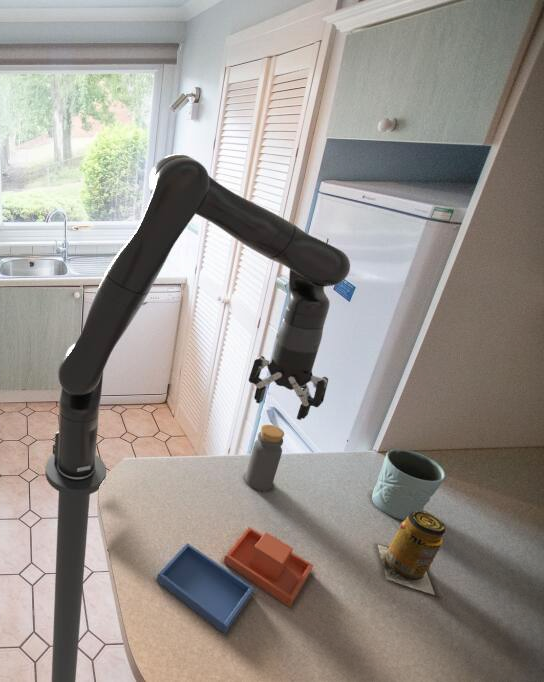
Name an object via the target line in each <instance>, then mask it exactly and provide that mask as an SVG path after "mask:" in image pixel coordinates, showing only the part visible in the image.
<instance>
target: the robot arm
mask: <svg viewBox="0 0 544 682" xmlns="http://www.w3.org/2000/svg"><path fill="white" fill-rule="evenodd" d="M148 185H149V190H150V191H149V192H150V194H151V196H150V200H149V202H148V204H147V208H146V209H145V212H144V214H143V216H142V218H141V221H140V223H139V225H138V226H137V228H136V230H135V232H134V233H133V235H132V236H131V237H130V238H129V240H128V241H127V242H126V243H125V244H124V246H123V247H122V248H121V249H120V251H118V253H116V255H115V257H114V258H113V259H112V261H111V262H110V264H109V265H108V267H107V269H106V271H105V273H104V275H103V276H102V279H101V282H100V283H99V285H98V287H97V289H96V292H95V295H94V297H93V299H92V302H91V305H90V307H89V310H88V313H87V317H86V318H85V319H86V320H85V322H84V324H83V327H82V330H81V333H80V334H79V336H78V338H77V340H76V342H75V343H74V344H72V345H70V346H69V347H68V348H67V349H66V351H65V352H64V354H63V356H62V359H61V362H60V364H59V366H58V371H57V375H58V381H59V384H60V386H61V391H60V397H59V404H58V406H59V407H58V431H57V432H56V433H55V434H54V443H53V444H52V455H53V454H54V455H55V459H54V465H56V466H57V470H58V472H59V474H60V475H61V476H62V477H64V478H66V479H68V480H72V481H83V480H86V479H88V478H90V477H91V476H92V475H93V474H94V471H95V455H97V454H96V453H97V444H98V443H97V442H98V429H99V418H100V417H99V415H100V405H101V398H102V389H103V382H104V381H103V380H104V370H105V369H106V365H107V363H108V361H109V359H110V356H111V355H112V352H113V351H114V349H115V347H116V346H117V344H118V343H119V341H120V340H121V338H122V337H123V335H124V334H125V333H126V331H127V330H128V328H129V326H130V325H131V323H132V321H133V320H134V319H135V317H136V315H137V314H138V312H139V310H140V309H141V307H142V306H143V304H144V302H145V300H146V299H147V297H148V295H149V293H150V291H151V290H152V287H153V285H154V283H155V282H156V280H157V278H158V276H159V275H160V273H161V270H162V269H163V267H164V265H165V263H166V261H167V259H168V257H169V255H170V253H171V251H172V249H173V247H174V246H175V244H176V242H178V239H179V238H180V237H181V235H182V233H183V232H184V231H185V230H186V228H187V226H188V225H189V223H190V222H191V221H192V219H193V218H194V216H195V215H198V216H199V217H201V218H202V219H205V220H207V221H208V222H210V223H212V224H213V225H215V226H216V227H218V228H219V229H221V230H222V231H224V232H226V233H227V234H228V235H229V236H231V237H233V238H234V239H235V240H237V241H238V242H240V243H241V244H243V245H244V246H246V247H247V248H249V249H251V250H252V251H255V252H256V253H258V254H259V255H262V256H263V257H265V258H266V259H269V260H271V261H273V262H276V263H278V264H280V265H283V266H285V267H286V268H288V269H289V273H288V274H289V275H288V276H289V277H288V302H287V305H286V308H285V312H284V316H283V320H282V323H281V324H280V327H279V329H278V332H277V335H276V342H275V346H274V348H273V349H274V350H273V354H272V357H271V360H268V359H266V358H265V356H264V355H260V356H258V357H257V358H256V359H254V361H253V365H252V367H251V371H250V373H249V377H248V382H249V383H250V384H254V385H255V386H256V389H255V392H254V397H253V398H254V400H255V403H256V404H261V403H262V402H263V401H264V398H265V394H266V390H267V386H268V385H270V384H272V383H273V382H274V383H275V385H276V386H279V387H284V388H285V389H287V390H290V391H292V390H293V391H294V392H295V394H296V396H297V397H298V398H299V400H300V402H301V403H300V406H299V408H298V413H297V416H296V420H299V421H301V420H302V419H303V420H304V419H305V418H306V417H308V415H309V413H310V409H311V407H314V408H319V407H320V406H321V405H322V404H323V402H324V401H325V400H324V399H325V396H326V392H327V387H328V383H329V378H328V377H327V376H322V377H318V376H316V375H313V368H314V365H315V361H316V358H317V355H318V352H319V348H320V345H321V341H322V338H323V332H324V331H323V330H324V327H325V323H326V319H327V316H328V313H329V309H330V305H331V303H330V299H329V298H328V296H327V294H326V292H325V287H333V286H336V285H338V284H340V283H342V282H343V281H344V280H345V279H347V277H348V275H349V273H350V270H351V262H350V259H349V257H348V255H347V254H346V253H345V252H344V251H342V250H341V249H339V248H337V247H335V246H333V245H331V244H329V243H327V242H325V241H323V240H321V239H319V238H317V237H314V236H312V235H311V234H308V233H307V232H306V231H304V230H302V229H301V228H300V227H299V226H297V225H295V224H293V223H292V222H291V221H289V220H286V219H285V218H283V217H281V216H280V215H278V214H276V213H274V212H272V211H270V210H268V209H267V208H265V207H262V206H260V205H258V204H256V203H255V202H252V201H250V200H248V199H246V198H245V197H242V196H240V195H238V194H237V193H235V192H233V191H232V190H230V189H228V188H227V187H225V186H223V184H220V183H219V182H218V181H216V180H214V179H213V178H212V177H211V176H210V175H209V172H208V171H207V168H206V167H205V166H204V165H203V164H202V163H201V162H199V160H196V159H194V157H192V156H189V155H186V154H177V153H175V154H171V155H167V156H165V157H163V158H162V159H160V160H159V161H158V162H156V163H155V165H154V166H153V168H152V169H151V172H150V175H149V180H148ZM266 367H267V369H268V372H269V375H268V376H266V377H264V378H263V379H262V378H261V377H260V376H261V373H262V370H263V369H265V368H266ZM310 382H311V383H312V386H313V388H315V391H314V395H313V396H312V394H311V392H310V388H309V385H308V383H310Z"/></svg>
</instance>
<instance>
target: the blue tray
mask: <svg viewBox="0 0 544 682" xmlns="http://www.w3.org/2000/svg"><path fill="white" fill-rule="evenodd" d="M156 582H157V583H159V584H160V585H161V586H162V587H164V588H165V589H166V590H168V591H169V592H170V593H171V594H173V595H174V596H175V597H176V598H177V599H179V600H180V601H181V602H182V603H184V604H185V605H187V606H188V607H189V608H191V610H193V611H194V612H196V613H197V614H198V615H199V616H201V617H202V618H203V619H205V620H206V622H208V623H210V624H211V625H212V626H214V627H215V628H216V629H217V630H219V631H220V632H221V633H222V634H224V635H226V633H227V632H228V630H229V629H230V628H231V626H232V625H233V623H234V622H235V620H236V619H237V617H238V616H239V615H240V613H241V612H242V611H243V609H244V607H245V606H246V604H247V603H248V602H249V600H250V599H251V597H252V595H253V592H254V590H255V588H254V587H253V586H251V585H250V584H248V583H247V582H245V581H244V580H242V579H241V578H239V577H238V576H236V575H235V574H234V573H232V572H231V571H229V570H228V569H227V568H225V567H223V566H222V565H220V564H219V563H218V562H216V561H215V560H213V559H212V558H210V557H209V556H207V555H206V554H205V553H203V552H201V551H200V550H199V549H197V548H195V547H194V546H193V545H191V544H190V543H188V542H187V543H186V544H184V545H183V547H182V548H181V549H180V550H179V551H178V552H177V553H176V554H175V555H174V556H173V557H172V558H171V559H170V561H168V563H167V564H166V565H165V566H164V567H163V568H162V569H161V570H160V571H159V572H158V574H157V578H156Z"/></svg>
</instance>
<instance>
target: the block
mask: <svg viewBox="0 0 544 682" xmlns="http://www.w3.org/2000/svg"><path fill="white" fill-rule="evenodd" d="M262 535H263V536H262V538H261V539H260V540H259V541H258V543H257V544H256V545H255V547H254V550H253V553H252V557H251V560H250V563H249V565H250V566H251V567H253V568H254V569H256V570H258V571H259V572H261V573H262V574H264V575H265V576H267V577H268V578H270V579H271V580H273V581H274V582H276V581H277V580H278V578H279V577H280V575H281V574H282V572H283V571H284V569H285V568H286V566H287V563H288V561H289V558H290V555H291V552H292V553H293V548H294V547H292V546H290V545H289V544H287V543H285V542H283V541H281V540H280V539H278V538H276V537H275V536H273V535H272V534H270V533H268V532H264V534H262Z"/></svg>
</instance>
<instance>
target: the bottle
mask: <svg viewBox="0 0 544 682" xmlns="http://www.w3.org/2000/svg"><path fill="white" fill-rule="evenodd" d="M284 436H285V432H284V430H283V429H282V428H280V427H279V426H277V425H273V424H264V425H262V426H261V427H260V431H259V432H258V434H257V439H256V440H255V441H254V443H253V446H252V449H251V454H250V457H249V461H248V463H247V468H246V472H245V476H244V481H245V483H246V484H247V485H248V486H250V488H253V489H254V490H256V491H263V492H265V491H268V490H270V489H271V488H272V487H273V483H274V480H275V477H276V473H277V470H278V467H279V463H280V460H281V457H282V454H283V447H282V446H283V443H284Z"/></svg>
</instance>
